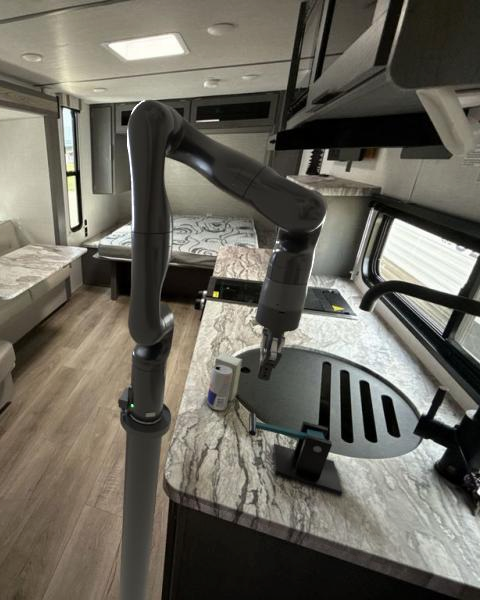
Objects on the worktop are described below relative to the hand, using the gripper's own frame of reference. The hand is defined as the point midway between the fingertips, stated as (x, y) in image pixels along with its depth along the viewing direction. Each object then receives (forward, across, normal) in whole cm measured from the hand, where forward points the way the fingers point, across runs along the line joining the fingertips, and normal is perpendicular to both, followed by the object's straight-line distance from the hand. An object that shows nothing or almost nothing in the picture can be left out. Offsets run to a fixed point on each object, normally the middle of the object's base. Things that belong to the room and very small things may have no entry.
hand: (263, 377), depth 64 cm
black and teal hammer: (+13, 0, +6) cm, 15 cm away
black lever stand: (+21, 0, +12) cm, 24 cm away
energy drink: (+21, -14, -8) cm, 26 cm away
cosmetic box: (+21, -20, -7) cm, 29 cm away
